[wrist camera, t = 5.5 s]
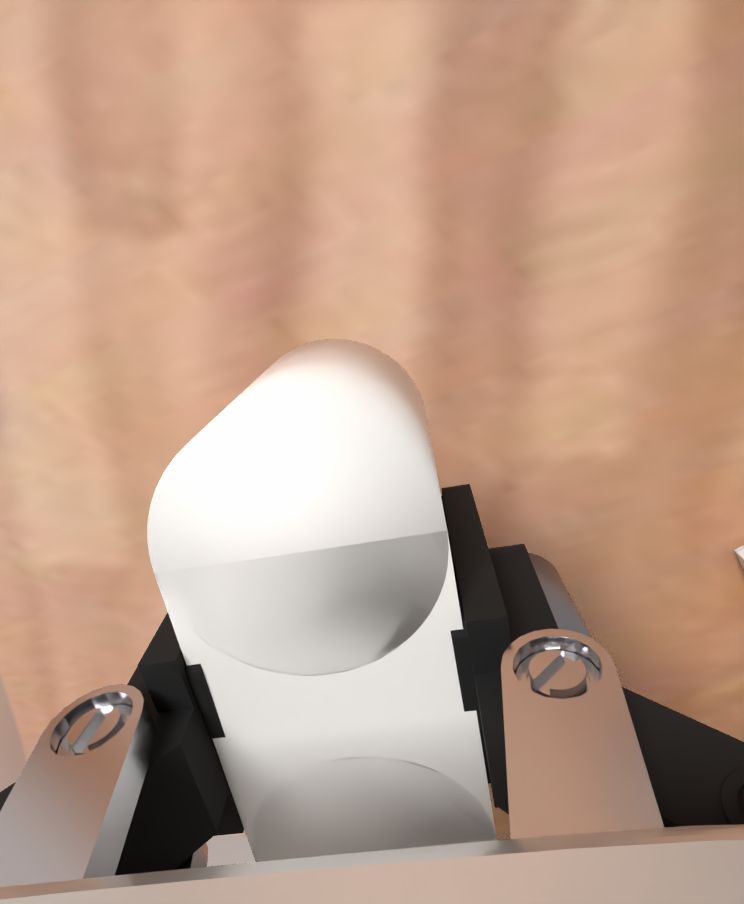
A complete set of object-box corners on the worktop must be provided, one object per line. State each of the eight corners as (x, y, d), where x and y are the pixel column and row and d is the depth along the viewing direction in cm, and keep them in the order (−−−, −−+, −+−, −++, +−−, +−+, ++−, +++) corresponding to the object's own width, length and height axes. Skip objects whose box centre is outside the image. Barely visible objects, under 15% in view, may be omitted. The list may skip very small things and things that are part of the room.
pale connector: (227, 357, 11) (105, 435, 6) (411, 323, 11) (423, 380, 6) (338, 769, 15) (310, 1018, 10) (481, 754, 14) (523, 1004, 10)
